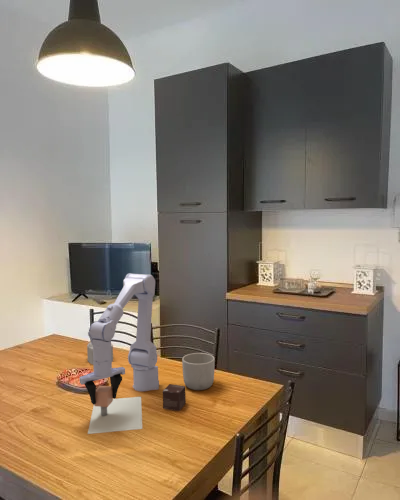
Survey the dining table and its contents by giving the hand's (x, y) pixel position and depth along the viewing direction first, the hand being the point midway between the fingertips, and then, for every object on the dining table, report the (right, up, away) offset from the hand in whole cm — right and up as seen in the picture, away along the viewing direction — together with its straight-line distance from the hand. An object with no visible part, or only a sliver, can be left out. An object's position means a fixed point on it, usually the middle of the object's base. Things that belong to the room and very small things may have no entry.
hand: (103, 400), depth 130 cm
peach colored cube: (0, -1, 0) cm, 1 cm away
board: (+4, -6, +1) cm, 7 cm away
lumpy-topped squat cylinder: (-15, -2, +55) cm, 57 cm away
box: (+22, -6, +6) cm, 24 cm away
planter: (+31, -4, +25) cm, 39 cm away
